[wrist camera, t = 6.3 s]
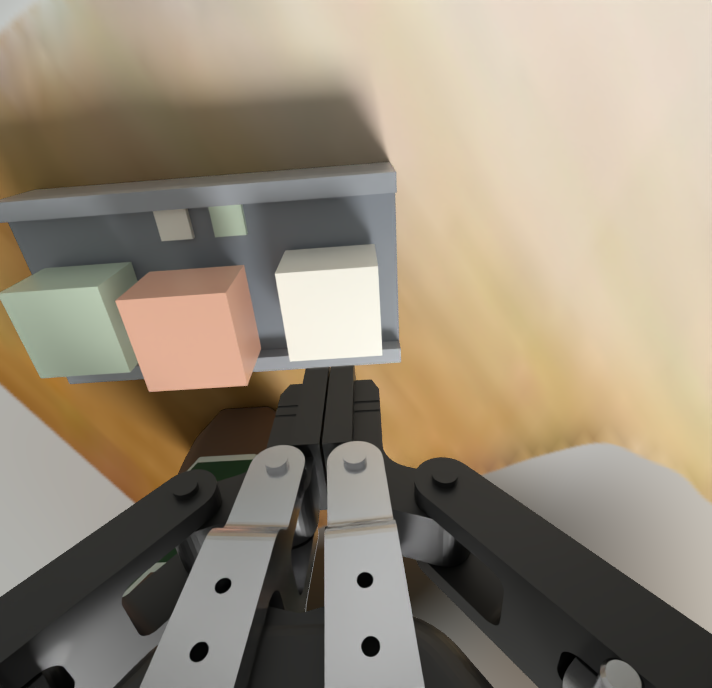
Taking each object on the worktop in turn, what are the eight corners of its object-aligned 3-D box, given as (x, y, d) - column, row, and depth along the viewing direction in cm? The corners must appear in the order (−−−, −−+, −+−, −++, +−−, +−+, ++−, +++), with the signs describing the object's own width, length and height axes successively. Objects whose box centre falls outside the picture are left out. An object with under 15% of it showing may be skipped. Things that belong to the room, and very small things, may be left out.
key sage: (131, 262, 20) (97, 286, 17) (157, 339, 22) (130, 372, 19) (44, 268, 20) (-3, 293, 17) (78, 344, 22) (40, 378, 19)
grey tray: (389, 161, 20) (400, 178, 16) (395, 331, 25) (404, 381, 20) (34, 189, 21) (-50, 213, 16) (102, 351, 25) (49, 404, 21)
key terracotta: (244, 265, 18) (225, 292, 15) (261, 348, 20) (247, 385, 17) (149, 271, 18) (115, 300, 16) (175, 353, 20) (148, 391, 17)
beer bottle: (297, 499, 31) (187, 1303, 10) (188, 474, 30) (-189, 1335, 9) (328, 418, 28) (257, 1399, 7) (206, 386, 26) (-346, 1472, 6)
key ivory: (374, 243, 19) (378, 266, 17) (378, 324, 21) (382, 355, 19) (285, 250, 19) (274, 273, 17) (297, 329, 21) (289, 361, 19)
